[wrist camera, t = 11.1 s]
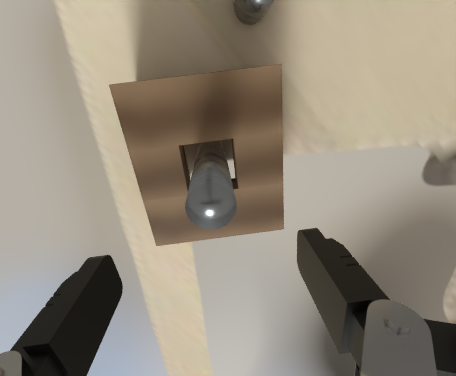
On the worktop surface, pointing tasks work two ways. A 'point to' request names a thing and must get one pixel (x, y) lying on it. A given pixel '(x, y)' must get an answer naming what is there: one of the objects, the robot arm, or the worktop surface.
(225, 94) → the wooden square-hole block
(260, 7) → the short pin
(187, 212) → the long pin
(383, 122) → the worktop surface
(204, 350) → the worktop surface
